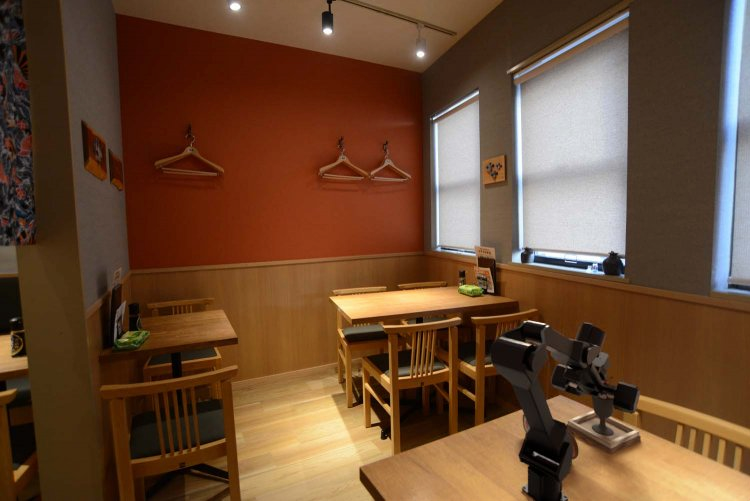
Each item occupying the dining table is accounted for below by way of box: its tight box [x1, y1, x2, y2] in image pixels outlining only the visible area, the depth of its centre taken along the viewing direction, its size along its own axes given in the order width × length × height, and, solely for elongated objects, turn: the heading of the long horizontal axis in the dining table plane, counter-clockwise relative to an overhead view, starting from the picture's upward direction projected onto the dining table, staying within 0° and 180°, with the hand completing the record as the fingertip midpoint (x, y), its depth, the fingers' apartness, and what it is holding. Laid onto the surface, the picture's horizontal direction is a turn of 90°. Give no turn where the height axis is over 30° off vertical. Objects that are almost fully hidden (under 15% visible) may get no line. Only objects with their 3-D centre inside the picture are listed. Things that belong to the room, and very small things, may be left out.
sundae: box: [591, 376, 614, 436], centre depth 92 cm, size 7×7×15 cm
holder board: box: [565, 410, 642, 455], centre depth 93 cm, size 12×12×2 cm
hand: (600, 401), depth 91 cm, fingers open, 9 cm apart
